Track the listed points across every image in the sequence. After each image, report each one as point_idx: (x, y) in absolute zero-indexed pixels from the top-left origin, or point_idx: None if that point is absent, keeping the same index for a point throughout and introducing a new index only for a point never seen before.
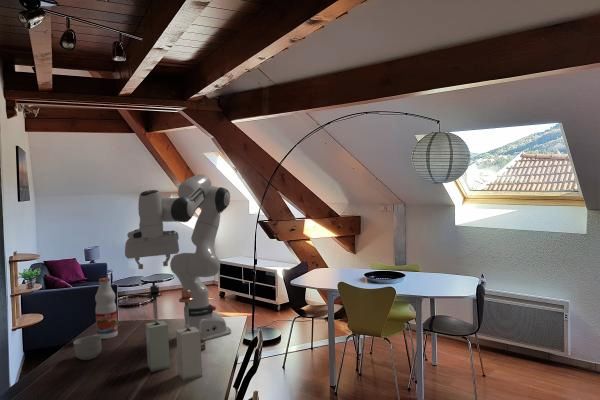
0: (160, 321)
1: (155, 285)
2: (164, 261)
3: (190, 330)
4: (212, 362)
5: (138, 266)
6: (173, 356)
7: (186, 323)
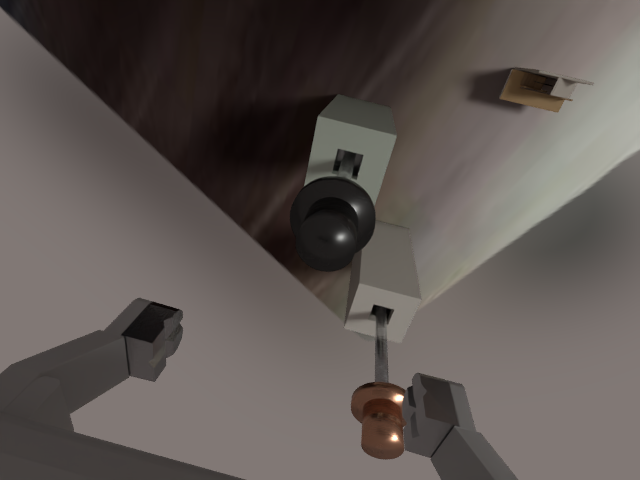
0: (380, 137)
1: (342, 230)
2: (439, 428)
3: (393, 309)
4: (474, 212)
5: (123, 316)
6: (439, 71)
7: (375, 333)
